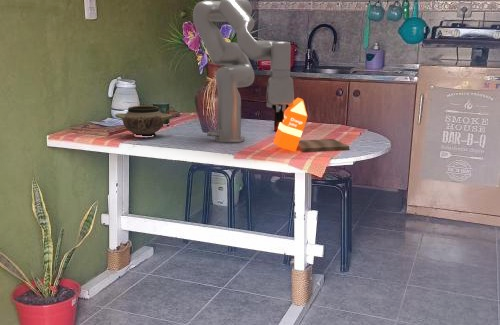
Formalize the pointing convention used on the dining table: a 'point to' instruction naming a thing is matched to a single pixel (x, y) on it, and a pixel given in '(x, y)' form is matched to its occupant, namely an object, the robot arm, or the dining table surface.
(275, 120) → the canned food
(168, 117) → the ceramic bowl
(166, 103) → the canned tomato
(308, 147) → the walnut board
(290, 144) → the orange juice
